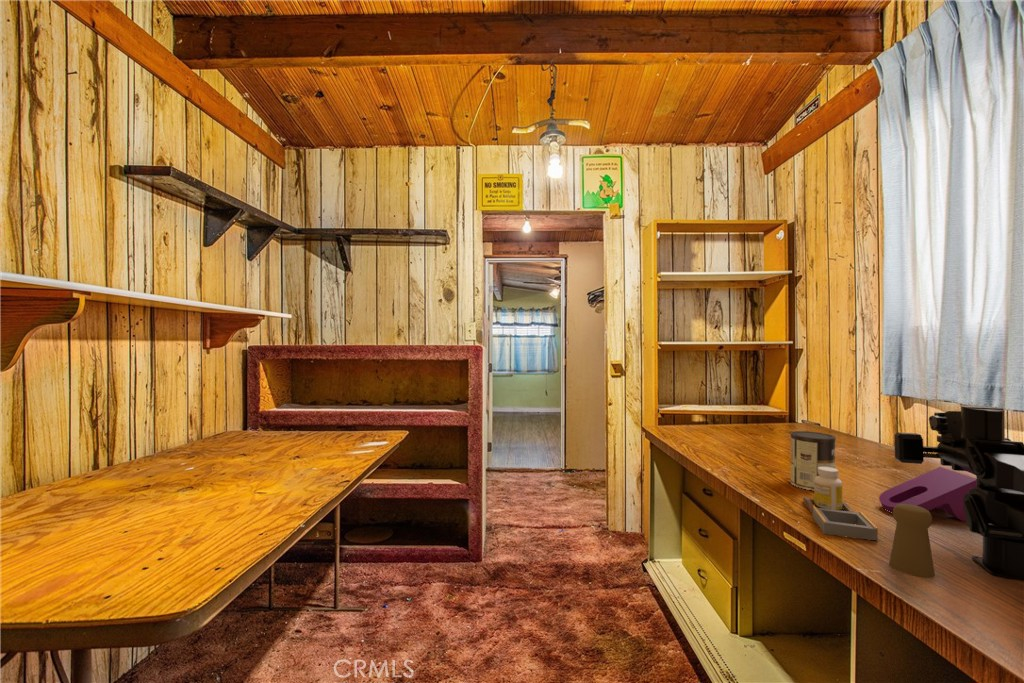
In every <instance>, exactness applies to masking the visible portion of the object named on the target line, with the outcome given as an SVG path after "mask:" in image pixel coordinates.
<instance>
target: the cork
mask: <svg viewBox="0 0 1024 683" xmlns="http://www.w3.org/2000/svg"><path fill="white" fill-rule="evenodd" d="M892 516H893V520H894V521H895V522H896V526H895V529H894V530H895V531H894V536H893V542H892V547H891V552H890V558H889V563H888V564H889V565H890V567H892V568H894V569H895V570H897V571H899V572H901V573H904V574H907V575H910V576H915V577H919V578H934V577H935V575H936V573H935V568H934V567H935V566H934V560H933V554H932V549H931V543H930V534H929V530H928V529H929V528H930V527H931V526H932V523H933V517H932V514H931V513H930V510H929V511H928V510H926V509H924V508H922V507H919V506H916V505H911V504H898V505H896V506H895V507H894V509H893V514H892Z"/></svg>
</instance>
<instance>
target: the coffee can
mask: <svg viewBox="0 0 1024 683" xmlns="http://www.w3.org/2000/svg"><path fill="white" fill-rule="evenodd" d="M836 440H837V439H836V436H834V435H832V434H829V433H825V432H818V431H807V430H805V431H804V430H803V431H802V430H800V431H799V430H798V431H792V432H790V484H791V485H792V486H793V485H794V486H793V487H795V486H796V487H795V488H798V487H799V488H798V489H801V488H802V489H801V490H804V489H806V490H805V491H809V490H812V491H811V492H814V479H815V477H817V476H819V474H818V467H831V468H835V469H836Z"/></svg>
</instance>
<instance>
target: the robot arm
mask: <svg viewBox="0 0 1024 683" xmlns="http://www.w3.org/2000/svg"><path fill="white" fill-rule="evenodd" d="M1005 415H1006V414H1005V410H1004V408H1002V407H994V406H982V405H960V411H959V410H946V411H945V412H940V411H939V412H934V415H930V416H929V417H928V422H929V427H930V429H931V431H936V432H937V434H938V435H936V441H937V442H938V444H937V446H927V445H924V439H923V437H922V435H921V434H920V433H915V432H914V433H913V432H899V431H897V432H896V433H895V434H894V458H895V459H896V460H897V461H898V462H900V463H902V464H917V465H919V464H920V465H921V464H922V463H923V462H924V458H925V459H926V458H929V459H930V458H931V459H940V465H941V466H945V467H947V466H948V467H951V471H954V472H956V471H958V472H960V471H961V472H967V473H969V474H972V475H974V476H975V478H976V479H977V488H971V489H970V493H969V494H965V496H964V499H963V504H964V510H965V515H966V521H965V522H966V524H967V526H968V528H969V531H970V532H971V533H974V534H978V535H980V536H982V556H978V555H972V556H971V559H972V561H974V562H976V563H977V564H979V566H980V567H982V568H983V569H985V570H986V571H987V572H988V573H989V574H991V575H993V576H995V577H1003V578H1009V579H1017V580H1024V442H1023V441H1017V440H1016V441H1014V440H1011V439H1010V438H1007V437H1005V436H1006V434H1005V433H1006V432H1005V431H1006V430H1005V424H1006V423H1005V422H1006V420H1005V419H1006V418H1005Z"/></svg>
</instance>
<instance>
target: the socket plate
mask: <svg viewBox="0 0 1024 683" xmlns="http://www.w3.org/2000/svg"><path fill="white" fill-rule="evenodd" d="M813 518H814V519H813ZM812 519H813V520H814V522H815V521H816V522H815V523H816V525H817V524H818V525H817V526H818V527H820V528H819V529H820V531H821V532H822V534H823V535H827V534H828V535H827V536H834V535H838V536H837V537H841V536H847V537H846V538H848V537H855V538H854V539H856V538H862V539H861V540H863V539H868V540H867V541H870V540H877V541H876V542H878V537H879V536H878V533H879V532H878V527H877V525H876V524H874V523H873V522H872V520H870V519H869V517H868V516H866V514H864V513H863V511H859V512H855V511H854V512H848V511H843V510H842V511H840V510H832V509H823V508H816V507H815V505H814V506H813V513H812ZM855 524H856V525H855Z"/></svg>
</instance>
